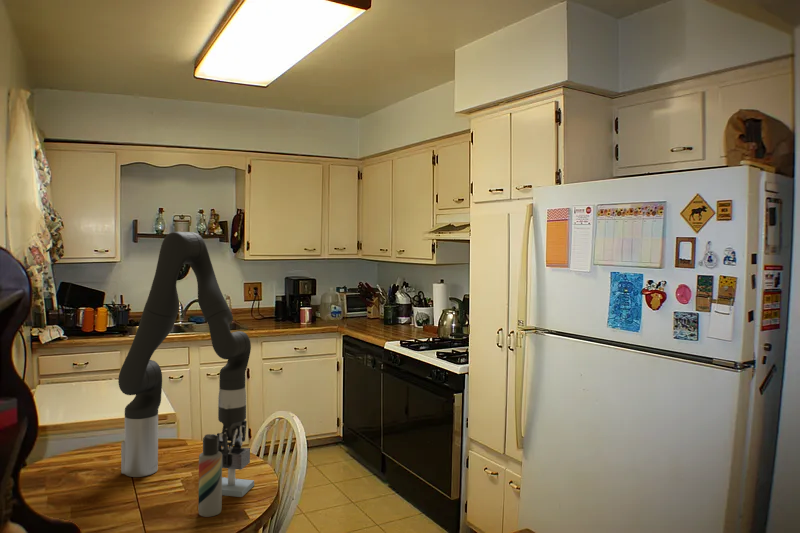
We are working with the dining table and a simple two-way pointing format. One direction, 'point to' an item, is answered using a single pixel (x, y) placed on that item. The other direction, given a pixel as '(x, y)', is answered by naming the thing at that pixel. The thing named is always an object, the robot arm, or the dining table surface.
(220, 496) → the lotion bottle
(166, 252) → the robot arm
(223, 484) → the grey base with peg
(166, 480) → the dining table surface
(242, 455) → the link
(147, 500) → the dining table surface
